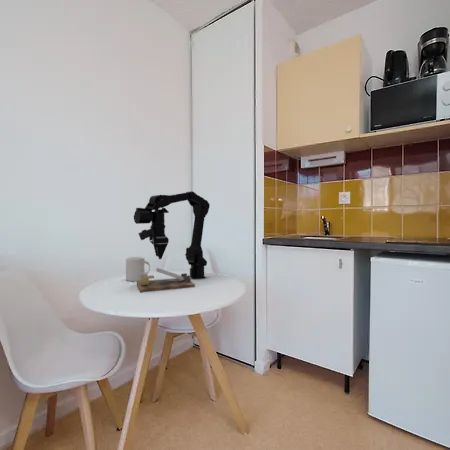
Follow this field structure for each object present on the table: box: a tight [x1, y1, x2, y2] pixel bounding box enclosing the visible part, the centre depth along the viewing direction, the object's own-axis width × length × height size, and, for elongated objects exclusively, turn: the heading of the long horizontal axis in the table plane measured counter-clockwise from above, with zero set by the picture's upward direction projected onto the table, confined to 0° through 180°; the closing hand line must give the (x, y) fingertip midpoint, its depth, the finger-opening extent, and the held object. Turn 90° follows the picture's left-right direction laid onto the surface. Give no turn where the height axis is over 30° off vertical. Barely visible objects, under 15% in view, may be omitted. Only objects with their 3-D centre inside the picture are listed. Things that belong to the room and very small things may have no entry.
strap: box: [155, 267, 185, 281], centre depth 125 cm, size 14×4×1 cm, turn 113°
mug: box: [125, 256, 151, 282], centre depth 137 cm, size 9×12×11 cm
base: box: [136, 272, 196, 293], centre depth 124 cm, size 23×15×4 cm, turn 113°
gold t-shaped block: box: [140, 274, 155, 285], centre depth 121 cm, size 6×5×3 cm
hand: (158, 257), depth 126 cm, fingers open, 9 cm apart
